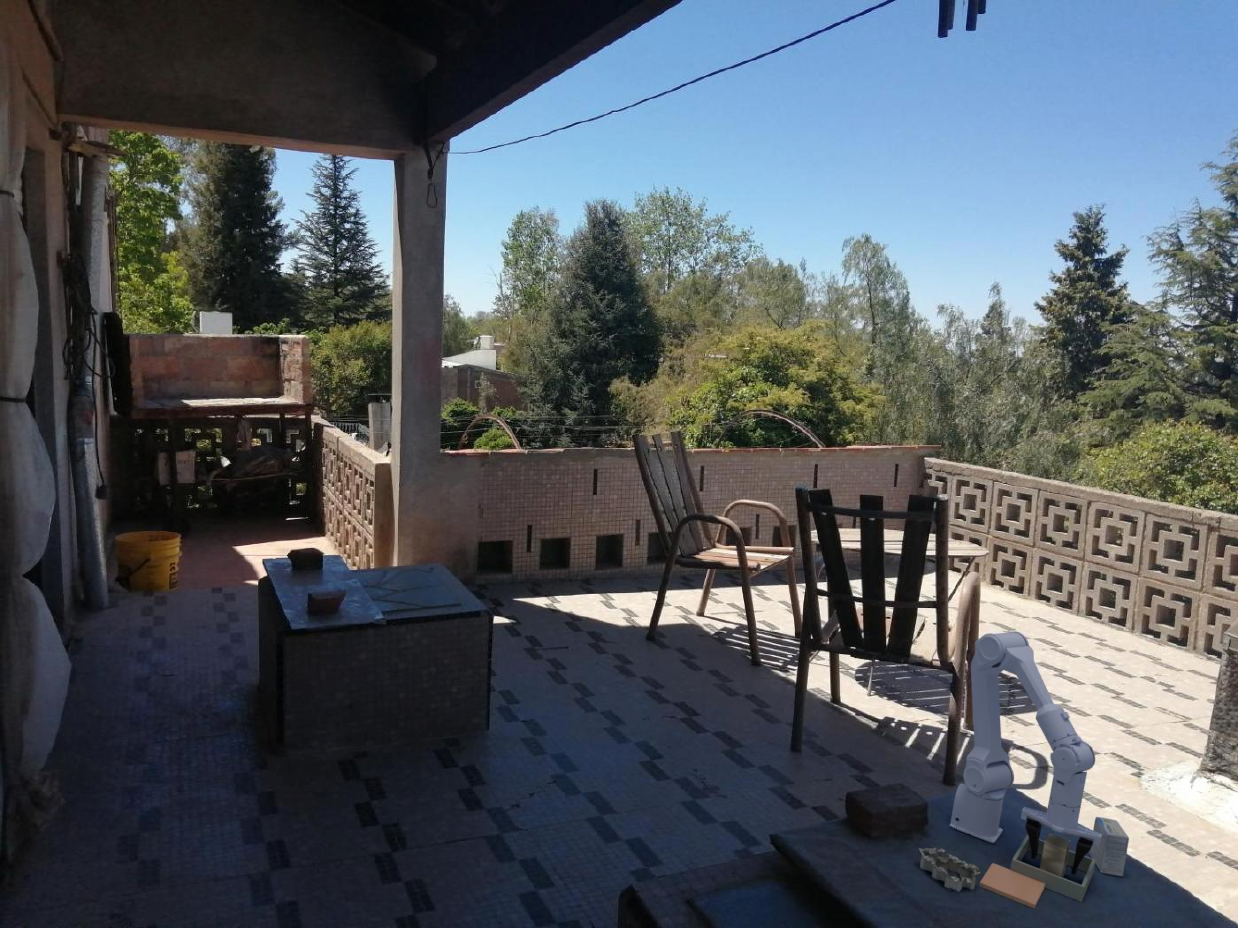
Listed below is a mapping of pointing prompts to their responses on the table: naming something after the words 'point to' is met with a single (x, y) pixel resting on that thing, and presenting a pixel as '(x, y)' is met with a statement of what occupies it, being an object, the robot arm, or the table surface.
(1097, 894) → the table surface
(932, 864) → the egg carton
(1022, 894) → the pad
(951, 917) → the table surface
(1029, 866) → the bin
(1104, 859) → the medicine box
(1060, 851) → the block
